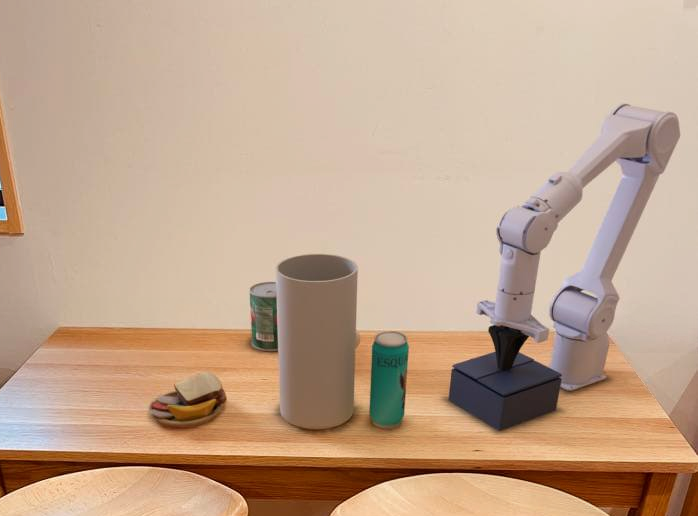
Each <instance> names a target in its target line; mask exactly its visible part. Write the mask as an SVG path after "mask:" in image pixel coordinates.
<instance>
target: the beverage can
mask: <svg viewBox="0 0 698 516" xmlns="http://www.w3.org/2000/svg"><path fill="white" fill-rule="evenodd" d="M373 339H374V341H373V343H372V345H371V365H370V388H369V417H370V419H371V422H372V424H373V425H374V426H375V427H377V428H379V429H383V430H385V429H386V430H387V429H389V430H390V429H395V428H397V427H398V426H399V425H401V422H402V420H403V418H404V416H405V409H406V408H405V407H406V393H407V379H408V366H409V364H408V363H409V353H410V352H409V350H410V345H409V344H408V336H407V335H406V334H405V333H403V332H400V331H395V330H386V331H382V332H378V333H376V334H375V336H374V337H373Z"/></svg>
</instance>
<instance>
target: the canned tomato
mask: <svg viewBox="0 0 698 516" xmlns="http://www.w3.org/2000/svg"><path fill="white" fill-rule="evenodd" d="M248 293H249V309H250V328H251V329H250V330H251V331H250V332H251V346H252V347H253V348H254V349H256V350H258V351H263V352H278V328H277V295H276V281H263V282H259V283H255V284H253V285H251V286H250V287H249V290H248Z"/></svg>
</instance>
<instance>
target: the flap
mask: <svg viewBox="0 0 698 516" xmlns="http://www.w3.org/2000/svg"><path fill="white" fill-rule="evenodd" d="M532 361H535V359H534V358H532V357H530V356H528V355H526V354H524V353H521V352H520V351H519V352H518V354H517V356H516V359H515V361H514V363H513V366H512V368H514V367H517V366H520V365H523V364H526V363H529V362H532ZM451 367H452V369H454V368H455V369H457V370H459V371H461V372H463V373H465V374H467V375H469V376H470V377H472V378H474V379H476V380H478V379H480V378H483V377H486V376H489V375H492V374H495V373H498V372H502V371H503V370H501V369H499V368H498V366H497V359H496V352H495V351H492V352H489V353H486V354H482V355H479V356H475V357H473V358H470V359H467V360H464V361H460V362H456V363H454V364H452V366H451ZM510 369H511V368H510ZM507 370H508V369H507ZM504 371H505V370H504Z"/></svg>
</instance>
